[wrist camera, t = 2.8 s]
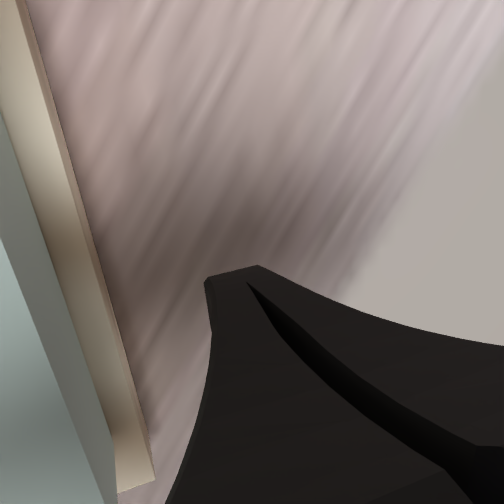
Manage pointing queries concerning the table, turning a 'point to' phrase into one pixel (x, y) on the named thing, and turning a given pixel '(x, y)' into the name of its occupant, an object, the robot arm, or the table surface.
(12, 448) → the stool leg
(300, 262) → the table surface
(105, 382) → the stool seat
